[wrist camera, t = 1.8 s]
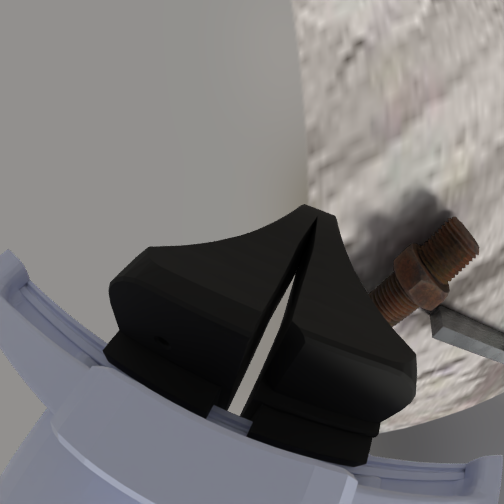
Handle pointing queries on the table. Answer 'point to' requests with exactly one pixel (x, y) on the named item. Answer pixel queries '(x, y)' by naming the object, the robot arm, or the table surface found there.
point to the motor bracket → (467, 334)
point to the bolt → (425, 272)
